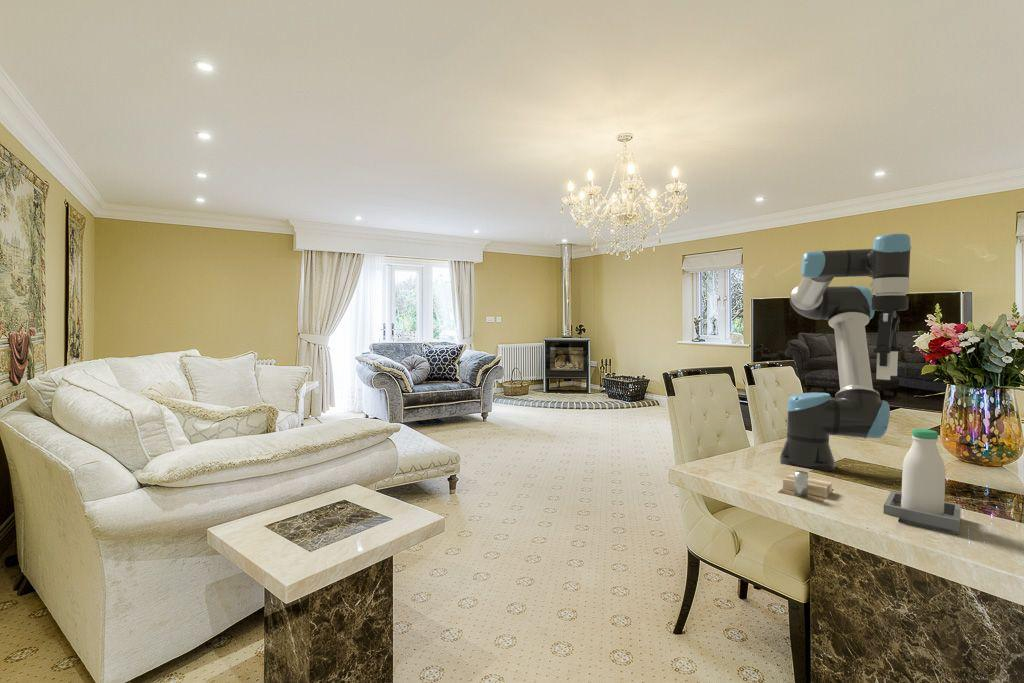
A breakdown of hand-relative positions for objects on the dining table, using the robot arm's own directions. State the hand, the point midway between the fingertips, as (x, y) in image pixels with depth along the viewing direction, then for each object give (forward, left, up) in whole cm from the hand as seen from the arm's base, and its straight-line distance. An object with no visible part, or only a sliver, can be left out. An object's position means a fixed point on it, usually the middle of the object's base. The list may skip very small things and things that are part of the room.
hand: (887, 377), depth 126 cm
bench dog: (+17, -15, -30) cm, 38 cm away
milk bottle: (+10, +8, -31) cm, 34 cm away
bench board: (+12, -15, -32) cm, 37 cm away
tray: (+10, +9, -32) cm, 34 cm away
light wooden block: (+11, -15, -30) cm, 36 cm away
